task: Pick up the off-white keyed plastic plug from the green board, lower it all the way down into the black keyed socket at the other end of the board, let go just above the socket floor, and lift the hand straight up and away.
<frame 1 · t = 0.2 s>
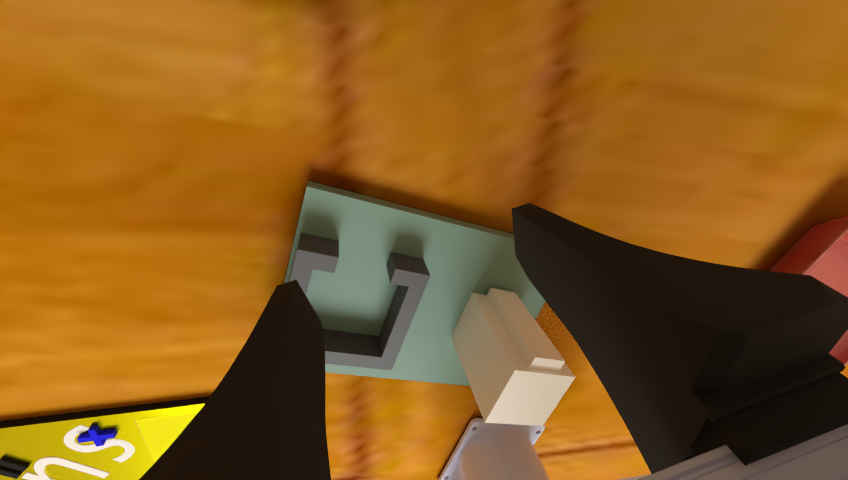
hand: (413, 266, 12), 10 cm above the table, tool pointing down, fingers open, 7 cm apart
keyed plug: (485, 319, 26), point 1 cm above the table, touching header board
plant saucer: (783, 307, 36), on the table
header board: (419, 300, 26), on the table
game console: (136, 449, 28), on the table
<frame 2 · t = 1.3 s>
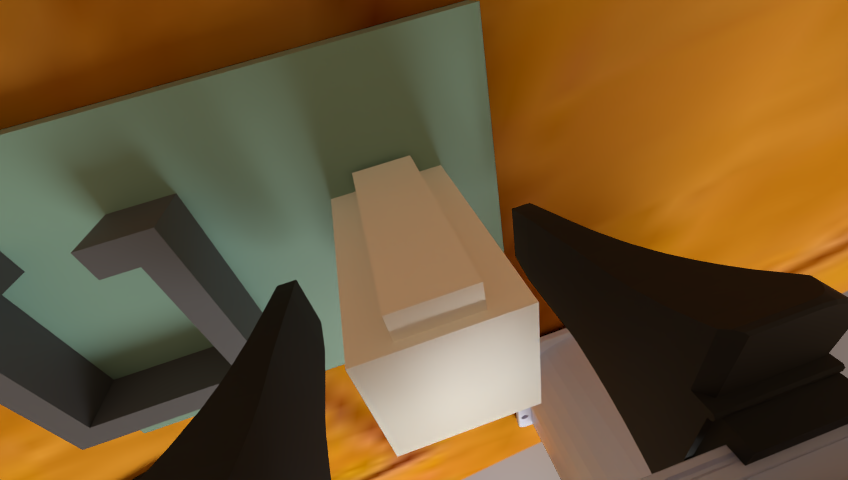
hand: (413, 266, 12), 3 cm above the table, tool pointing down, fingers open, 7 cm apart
keyed plug: (400, 227, 14), point 1 cm above the table, touching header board
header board: (274, 253, 14), on the table
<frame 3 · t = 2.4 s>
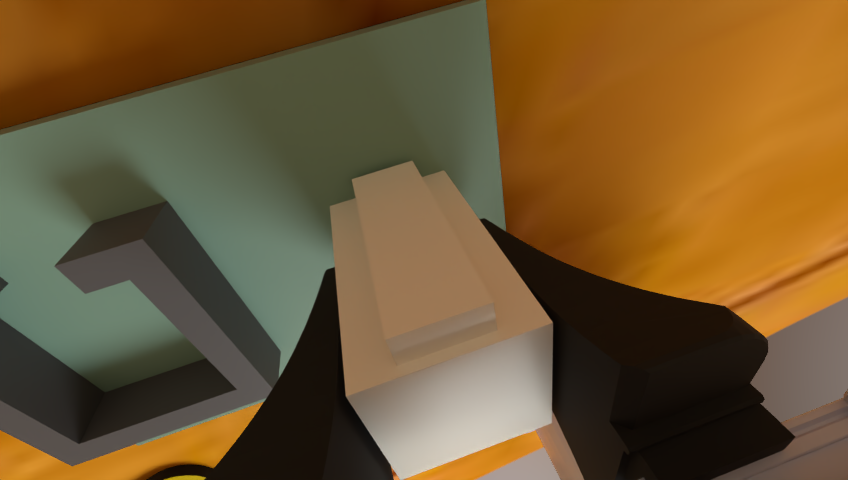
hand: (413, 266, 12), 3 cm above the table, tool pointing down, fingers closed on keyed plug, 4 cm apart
keyed plug: (402, 234, 13), point 1 cm above the table, touching gripper, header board
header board: (271, 261, 14), on the table
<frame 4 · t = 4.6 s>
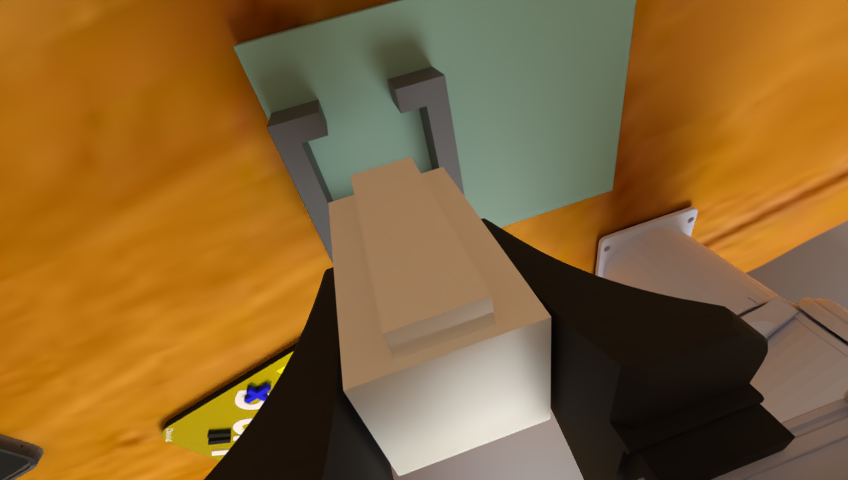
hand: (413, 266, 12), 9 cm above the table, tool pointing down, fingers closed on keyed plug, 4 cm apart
keyed plug: (400, 231, 13), point 8 cm above the table, touching gripper
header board: (462, 129, 20), on the table
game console: (300, 391, 30), on the table
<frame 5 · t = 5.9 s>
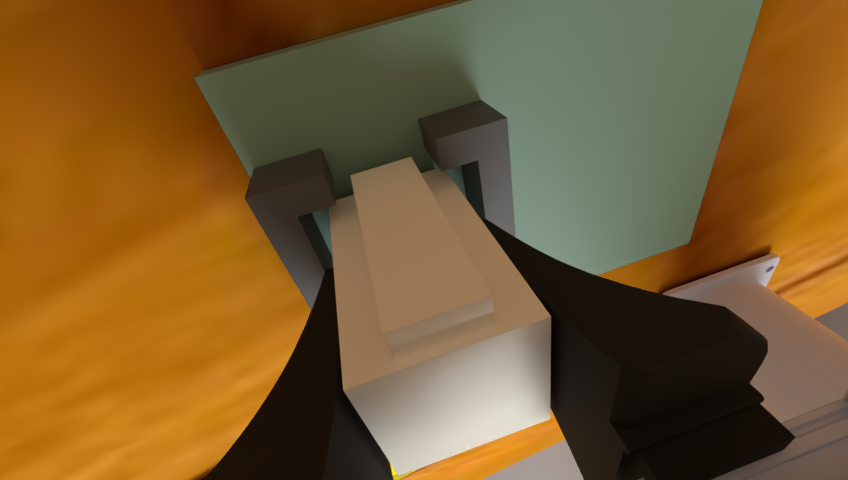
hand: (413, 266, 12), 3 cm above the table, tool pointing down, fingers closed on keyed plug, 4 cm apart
keyed plug: (400, 231, 13), point 1 cm above the table, touching gripper
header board: (510, 176, 15), on the table
when the fingers open (3 cm above the table, at t = 6.7 s): keyed plug stays where it is, resting on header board.
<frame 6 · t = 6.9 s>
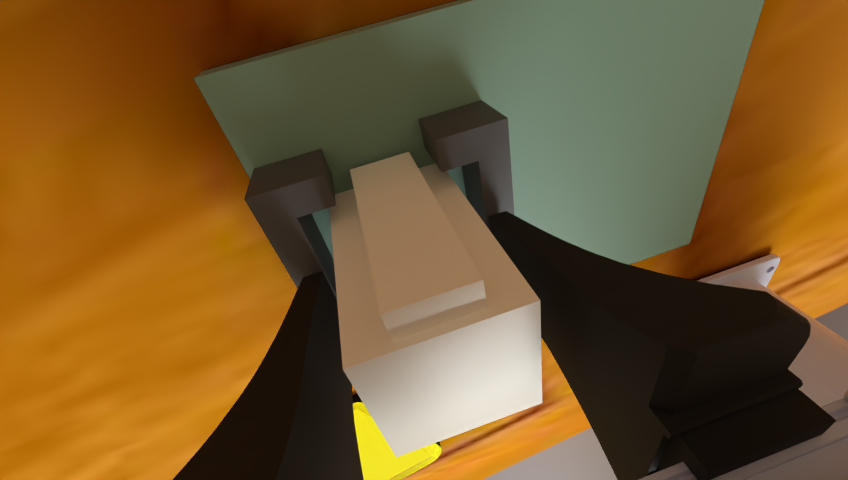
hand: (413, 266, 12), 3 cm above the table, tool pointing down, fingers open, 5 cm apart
keyed plug: (399, 225, 14), point 1 cm above the table, touching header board
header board: (510, 176, 15), on the table
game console: (299, 470, 25), on the table
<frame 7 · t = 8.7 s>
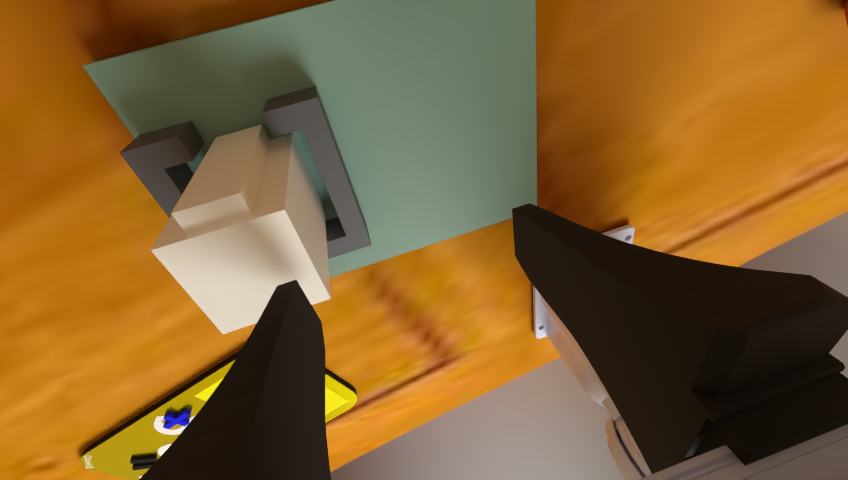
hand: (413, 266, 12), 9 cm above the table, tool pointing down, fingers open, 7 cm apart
keyed plug: (269, 184, 18), point 1 cm above the table, touching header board
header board: (366, 149, 19), on the table
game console: (231, 413, 29), on the table
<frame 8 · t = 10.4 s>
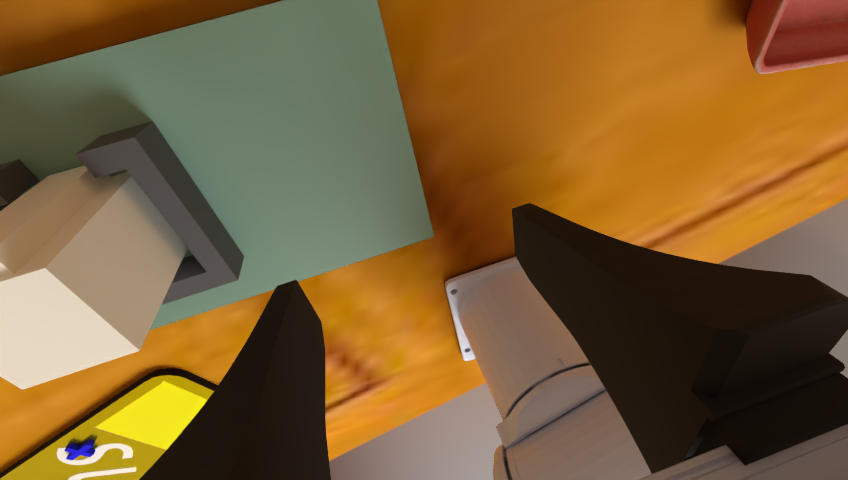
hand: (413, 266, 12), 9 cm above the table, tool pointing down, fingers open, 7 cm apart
keyed plug: (123, 219, 17), point 1 cm above the table, touching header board
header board: (234, 180, 18), on the table
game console: (148, 440, 29), on the table
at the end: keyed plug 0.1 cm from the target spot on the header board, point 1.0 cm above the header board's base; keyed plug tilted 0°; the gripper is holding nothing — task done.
